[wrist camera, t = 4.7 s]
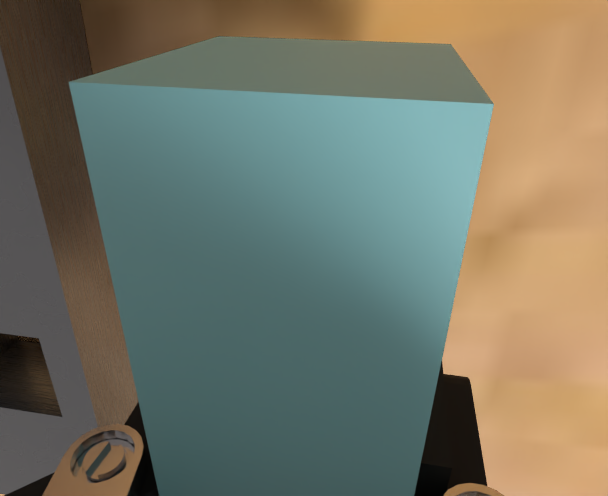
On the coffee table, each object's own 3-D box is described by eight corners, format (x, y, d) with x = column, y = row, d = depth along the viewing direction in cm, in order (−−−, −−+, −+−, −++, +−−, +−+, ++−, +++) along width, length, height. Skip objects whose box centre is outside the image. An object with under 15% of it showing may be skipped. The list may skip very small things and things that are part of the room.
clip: (285, 15, 12) (68, 82, 4) (433, 20, 11) (493, 104, 4) (287, 411, 19) (206, 711, 11) (380, 425, 18) (362, 751, 11)
